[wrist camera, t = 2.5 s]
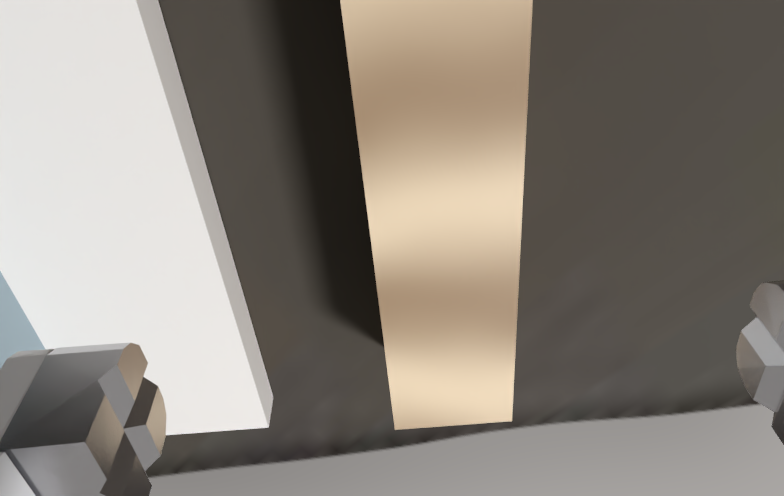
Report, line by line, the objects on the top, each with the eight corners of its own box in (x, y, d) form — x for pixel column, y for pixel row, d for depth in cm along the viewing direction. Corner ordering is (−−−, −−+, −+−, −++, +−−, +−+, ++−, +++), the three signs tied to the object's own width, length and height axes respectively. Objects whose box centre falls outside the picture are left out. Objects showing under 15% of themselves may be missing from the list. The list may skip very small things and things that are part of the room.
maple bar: (272, -675, 10) (228, -873, 7) (513, -705, 10) (577, -918, 7) (392, 345, 25) (394, 429, 22) (493, 337, 25) (511, 421, 22)
